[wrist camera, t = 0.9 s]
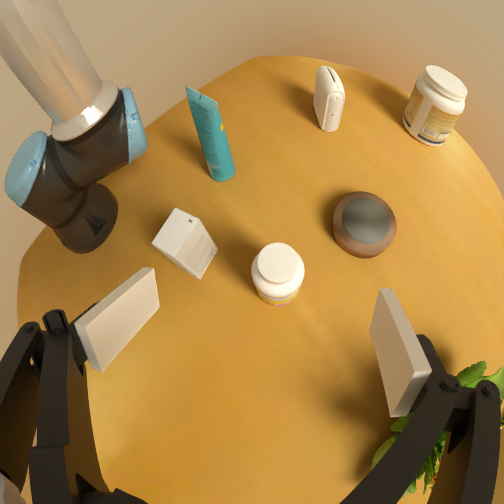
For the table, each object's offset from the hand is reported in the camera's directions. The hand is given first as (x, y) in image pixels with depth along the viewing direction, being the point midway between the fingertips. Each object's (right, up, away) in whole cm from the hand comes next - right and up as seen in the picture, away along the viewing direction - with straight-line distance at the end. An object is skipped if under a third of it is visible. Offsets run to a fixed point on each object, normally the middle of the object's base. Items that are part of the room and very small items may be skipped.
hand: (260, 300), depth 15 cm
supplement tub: (+41, +32, +37) cm, 64 cm away
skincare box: (-9, +1, +30) cm, 32 cm away
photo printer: (+16, +32, +39) cm, 53 cm away
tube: (-6, +18, +36) cm, 41 cm away
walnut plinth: (+18, +7, +30) cm, 36 cm away
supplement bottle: (+3, -3, +28) cm, 28 cm away
